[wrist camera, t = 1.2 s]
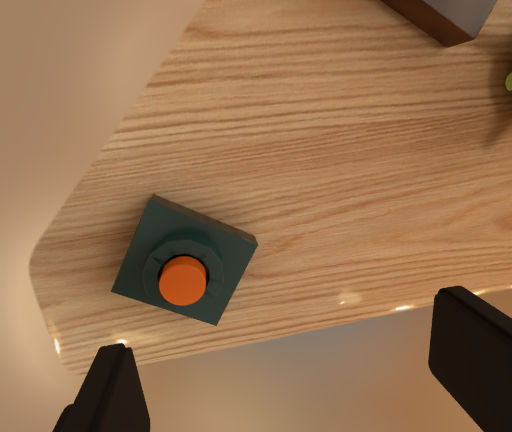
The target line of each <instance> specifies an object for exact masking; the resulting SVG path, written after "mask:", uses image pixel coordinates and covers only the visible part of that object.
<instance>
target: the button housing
mask: <svg viewBox="0 0 512 432" xmlns="http://www.w3.org/2000/svg"><path fill="white" fill-rule="evenodd" d="M257 246H258V243H257V241H256V238H255V236H253V235H251V234H248V233H246V232H244V231H241V230H239V229H236V228H234V227H232V226H229V225H227V224H224V223H222V222H220V221H217V220H215V219H212V218H210V217H207V216H205V215H203V214H200V213H198V212H195V211H193V210H191V209H188V208H186V207H183V206H181V205H179V204H176V203H174V202H171V201H169V200H167V199H164V198H162V197H159V196H157V195H154V194H153V195H152V197H151V198H150V199H149V201H148V203H147V206H146V208H145V210H144V213H143V215H142V218H141V220H140V222H139V225H138V227H137V230H136V232H135V234H134V237H133V239H132V242H131V244H130V247H129V249H128V251H127V254H126V256H125V259H124V261H123V263H122V266H121V268H120V271H119V273H118V275H117V278H116V280H115V283H114V285H113V287H112V290H111V292H113V293H116V294H119V295H123V296H126V297H129V298H132V299H135V300H138V301H141V302H144V303H147V304H150V305H154V306H157V307H160V308H163V309H166V310H169V311H172V312H175V313H178V314H182V315H185V316H188V317H191V318H194V319H197V320H200V321H203V322H206V323H209V324H213V325H216V326H217V324H218V322H219V320H220V318H221V316H222V314H223V312H224V310H225V308H226V306H227V304H228V302H229V300H230V298H231V296H232V294H233V293H234V291H235V289H236V287H237V285H238V283H239V281H240V279H241V277H242V275H243V273H244V271H245V269H246V267H247V265H248V263H249V261H250V259H251V257H252V255H253V253H254V251H255V249H256V248H257ZM179 256H189V257H193V258H195V259H197V260H198V261H199V262H200V263H201V264H202V265H203V266H204V268H205V271H206V288H205V291H204V294H203V295H202V297H201V298H200V299H199V300H197V301H196V302H194V303H192V304H189V305H175V304H172V303H170V302H168V301H167V300H166V299H165V298H164V297H163V296H162V294H161V292H160V289H159V281H160V278H161V274H162V271H163V268H164V266H165V265H166V264H167V263H168V262H169V261H170V260H172V259H173V258H176V257H179Z"/></svg>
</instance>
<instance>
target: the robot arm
mask: <svg viewBox="0 0 512 432" xmlns="http://www.w3.org/2000/svg"><path fill="white" fill-rule="evenodd" d="M428 364H429V368H430V370H431V372H432V374H433V375H434V376H435V377H436V379H437V380H438V381H439V382H440V383H441V384H442V385H443V386H444V388H445V389H446V390H447V391H448V392H449V393H450V394H451V395H452V397H453V398H454V399H455V400H456V401H457V402H458V403H459V404H460V406H461V407H462V408H463V409H464V410H465V411H466V412H467V413H468V415H469V416H470V417H471V418H472V419H473V420H474V421H475V422H476V424H478V426H479V427H480V428H481V429H482V430H483V431H484V432H512V318H510V317H509V316H507V315H506V314H504V313H502V312H501V311H499V310H498V309H496V308H495V307H493V306H492V305H490V304H489V303H487V302H486V301H484V300H482V299H481V298H479V297H478V296H476V295H475V294H473V293H472V292H470V291H469V290H467V289H466V288H464V287H462V286H453V287H447V288H442V289H440V290H439V291H438V294H436V295H435V298H434V307H433V318H432V328H431V339H430V350H429V360H428ZM53 432H150V418H149V414H148V410H147V406H146V402H145V398H144V394H143V390H142V386H141V382H140V378H139V375H138V371H137V367H136V363H135V359H134V355H133V351H132V349H131V347H128V348H125V345H124V344H123V343H119V344H114V345H108V346H102V347H100V349H99V350H98V352H97V355H96V357H95V359H94V361H93V363H92V365H91V367H90V369H89V372H88V374H87V376H86V378H85V380H84V382H83V384H82V386H81V388H80V391H79V393H78V395H77V397H76V399H75V401H74V404H71V405H68V406H67V407H66V408H65V409H64V410H63V412H62V414H61V416H60V418H59V420H58V422H57V424H56V426H55V428H54V430H53Z"/></svg>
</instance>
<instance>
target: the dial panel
mask: <svg viewBox="0 0 512 432" xmlns="http://www.w3.org/2000/svg"><path fill="white" fill-rule="evenodd" d="M381 1H383V2H384V3H386V4H387V5H388V6H390V7H391V8H393V9H394V10H395V11H397V12H398V13H400V14H401V15H402V16H404V17H405V18H407V19H408V20H409V21H411V22H412V23H414V24H415V25H416V26H418V27H419V28H421V29H422V30H423V31H425V32H426V33H428V34H429V35H431V36H432V37H433V38H435V39H436V40H438V41H439V42H440V43H442V44H443V45H445V46H446V47H452V46H455V45H458V44H461V43H465V42H468V41H471V40H474V39H475V38H476V36H477V35H478V33H479V31H480V30H481V28H482V26H483V24H484V23H485V21H486V19H487V18H488V16H489V14H490V12H491V11H492V9H493V7H494V6H495V4H496V2H497V0H381Z"/></svg>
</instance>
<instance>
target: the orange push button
mask: <svg viewBox="0 0 512 432" xmlns="http://www.w3.org/2000/svg"><path fill="white" fill-rule="evenodd" d="M205 288H206V271H205V268H204V266H203V265H202V264H201V263H200V262H199V261H198V260H197V259H195V258H193V257H189V256H179V257H176V258H173V259H172V260H170V261H169V262H168V263H167V264H166V265H165V266H164V268H163V271H162V274H161V278H160V281H159V289H160V292H161V294H162V296H163V297H164V298H165V299H166V300H167V301H168V302H170V303H172V304H175V305H189V304H192V303H194V302H196V301H197V300H199V299H200V298H201V297H202V295H203V294H204V291H205Z"/></svg>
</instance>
